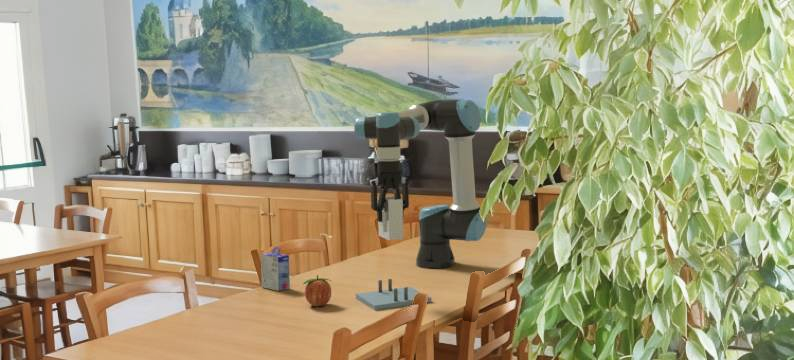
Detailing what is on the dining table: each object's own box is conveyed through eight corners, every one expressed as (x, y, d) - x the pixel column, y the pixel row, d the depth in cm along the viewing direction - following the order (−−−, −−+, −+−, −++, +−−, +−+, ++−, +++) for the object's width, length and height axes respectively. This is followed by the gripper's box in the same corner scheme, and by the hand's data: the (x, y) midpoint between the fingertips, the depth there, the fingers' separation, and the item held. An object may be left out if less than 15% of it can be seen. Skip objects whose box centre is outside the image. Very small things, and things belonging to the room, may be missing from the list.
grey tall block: (392, 234, 281) (391, 195, 280) (403, 238, 273) (402, 199, 271) (378, 235, 279) (377, 197, 278) (389, 240, 271) (387, 200, 269)
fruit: (334, 307, 271) (332, 277, 270) (304, 309, 270) (303, 279, 268) (331, 301, 280) (330, 271, 278) (302, 303, 278) (301, 273, 277)
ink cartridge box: (291, 288, 298) (289, 248, 297) (279, 291, 294) (277, 251, 293) (273, 284, 305) (271, 245, 303) (261, 287, 301) (259, 247, 299)
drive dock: (410, 290, 290) (409, 275, 290) (431, 302, 275) (431, 285, 274) (355, 298, 282) (355, 282, 282) (374, 310, 267) (374, 293, 266)
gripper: (409, 157, 280) (411, 226, 283) (358, 160, 273) (361, 231, 276) (419, 159, 273) (420, 229, 276) (367, 162, 266) (369, 235, 269)
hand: (390, 230), depth 276 cm, fingers closed on grey tall block, 5 cm apart
